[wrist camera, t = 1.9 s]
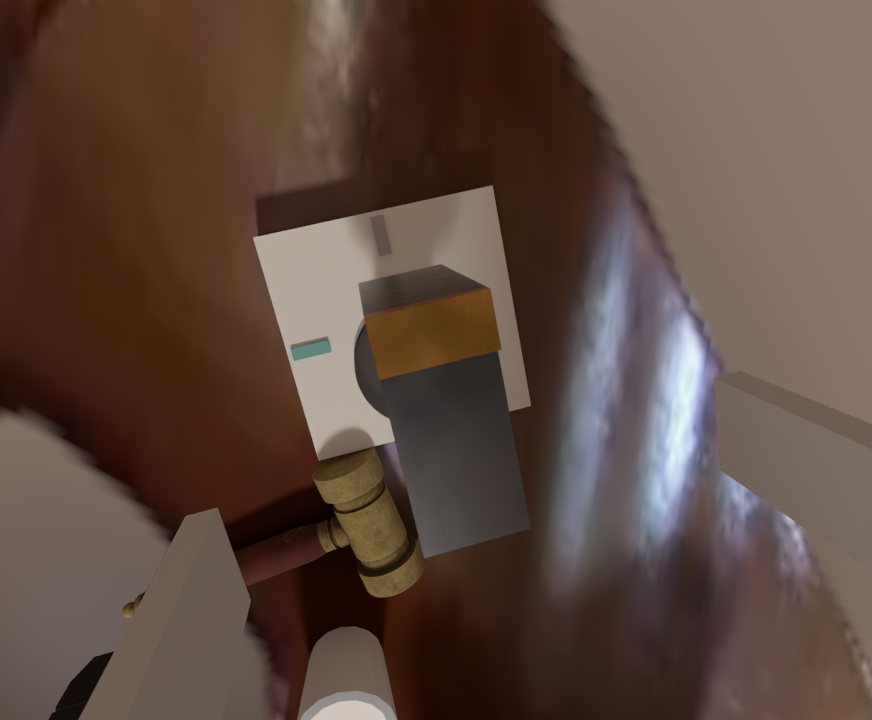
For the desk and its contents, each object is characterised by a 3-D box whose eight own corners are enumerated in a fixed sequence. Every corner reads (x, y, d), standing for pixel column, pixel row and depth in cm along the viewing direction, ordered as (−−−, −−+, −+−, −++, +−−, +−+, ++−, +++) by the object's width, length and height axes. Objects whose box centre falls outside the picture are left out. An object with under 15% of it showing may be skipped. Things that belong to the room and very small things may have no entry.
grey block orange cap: (485, 411, 32) (568, 528, 20) (375, 439, 32) (392, 578, 19) (454, 254, 30) (527, 279, 18) (334, 281, 29) (325, 327, 17)
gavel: (145, 690, 39) (69, 577, 36) (169, 641, 44) (103, 537, 41) (428, 584, 39) (373, 462, 36) (423, 546, 43) (374, 434, 41)
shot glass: (284, 671, 44) (273, 753, 37) (335, 605, 43) (333, 676, 36) (357, 706, 46) (359, 790, 39) (407, 642, 45) (418, 717, 38)
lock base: (522, 397, 41) (562, 438, 34) (319, 449, 40) (313, 504, 32) (485, 186, 37) (520, 179, 30) (258, 236, 36) (234, 241, 28)
